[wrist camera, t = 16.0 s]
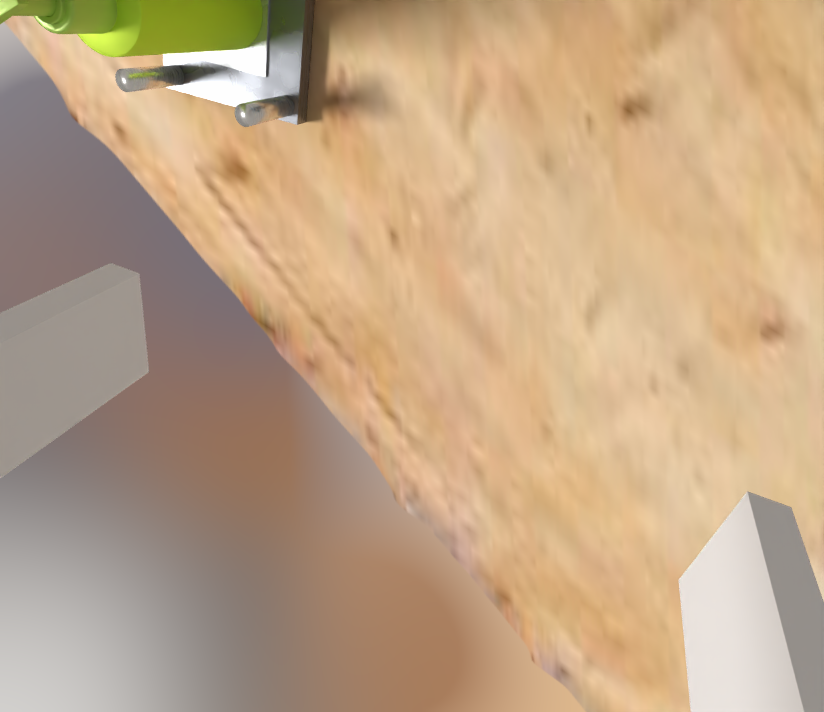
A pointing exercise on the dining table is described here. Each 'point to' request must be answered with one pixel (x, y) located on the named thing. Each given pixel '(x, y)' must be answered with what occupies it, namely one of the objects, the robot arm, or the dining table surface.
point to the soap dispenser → (146, 23)
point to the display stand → (245, 69)
